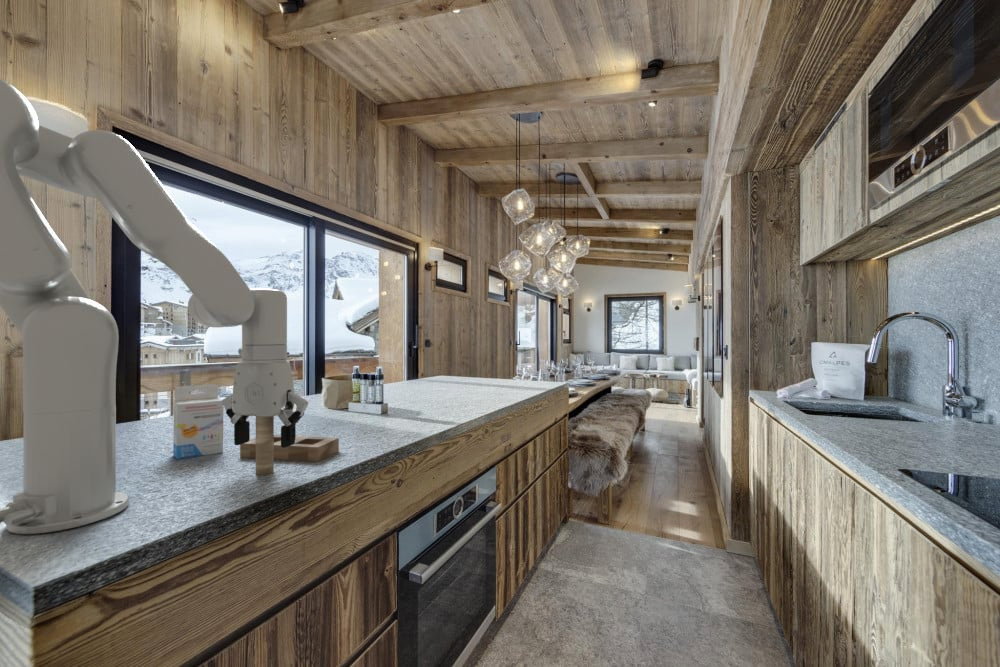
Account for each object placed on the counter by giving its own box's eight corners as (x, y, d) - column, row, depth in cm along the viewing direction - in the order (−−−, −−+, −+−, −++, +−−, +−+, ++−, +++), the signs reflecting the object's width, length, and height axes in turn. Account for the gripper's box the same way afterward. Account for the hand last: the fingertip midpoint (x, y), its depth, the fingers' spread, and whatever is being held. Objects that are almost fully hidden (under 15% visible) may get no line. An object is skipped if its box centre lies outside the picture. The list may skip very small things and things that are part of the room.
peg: (266, 475, 81) (266, 411, 81) (251, 474, 81) (252, 410, 81) (277, 470, 84) (277, 408, 84) (263, 469, 84) (263, 407, 84)
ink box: (176, 460, 90) (176, 389, 90) (172, 455, 94) (173, 387, 94) (224, 452, 96) (224, 385, 96) (218, 448, 100) (219, 383, 100)
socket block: (318, 461, 89) (318, 447, 89) (240, 457, 92) (240, 443, 92) (338, 451, 97) (338, 437, 97) (266, 447, 100) (266, 434, 100)
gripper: (208, 354, 80) (208, 447, 80) (293, 356, 77) (293, 452, 77) (239, 353, 87) (239, 438, 87) (318, 353, 85) (318, 441, 85)
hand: (264, 444), depth 82 cm, fingers open, 9 cm apart
